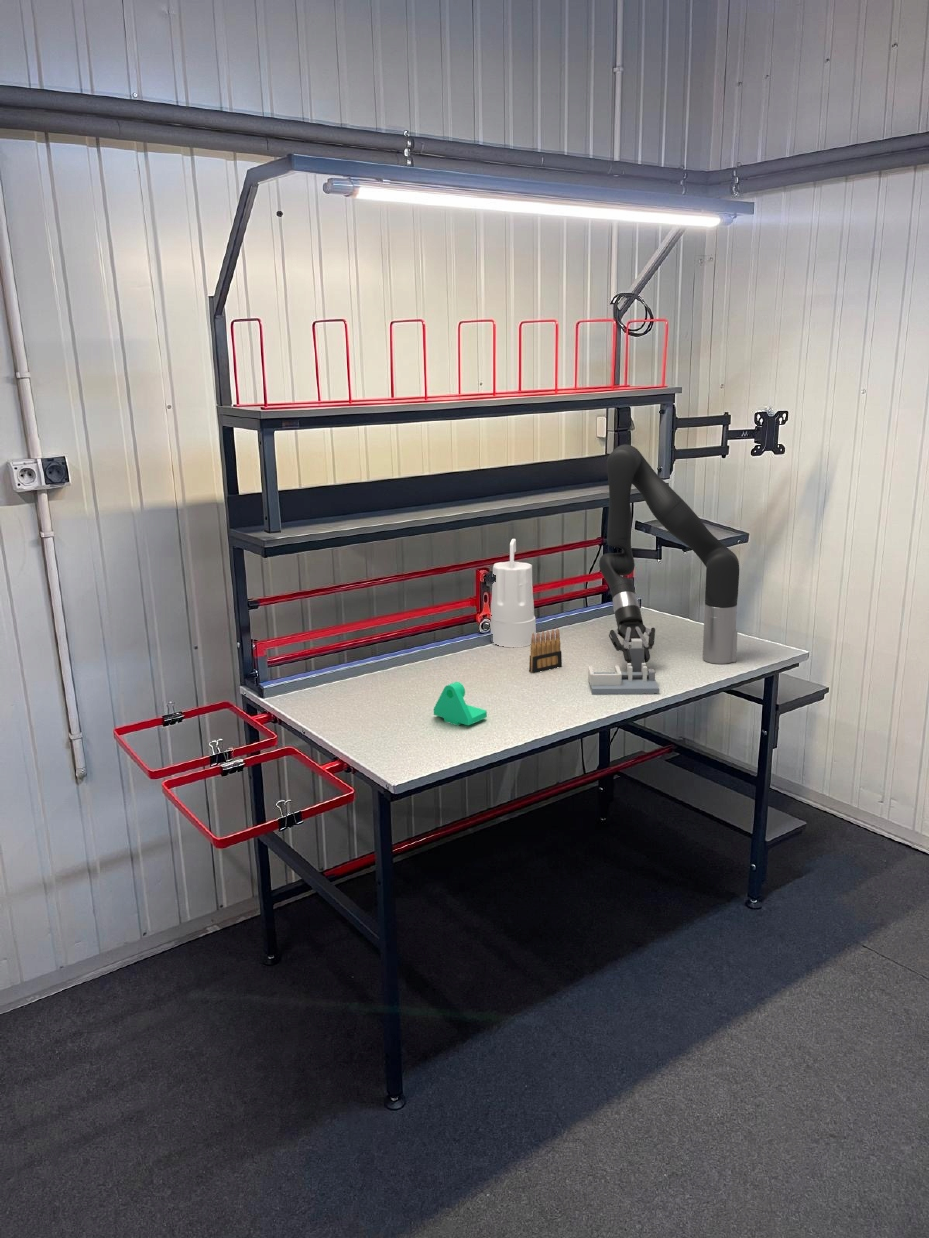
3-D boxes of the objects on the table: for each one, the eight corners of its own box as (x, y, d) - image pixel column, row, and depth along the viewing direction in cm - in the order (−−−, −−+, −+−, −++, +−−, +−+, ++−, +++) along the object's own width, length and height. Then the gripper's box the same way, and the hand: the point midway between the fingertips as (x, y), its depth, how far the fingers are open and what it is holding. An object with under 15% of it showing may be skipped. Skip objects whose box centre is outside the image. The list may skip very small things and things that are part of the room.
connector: (642, 670, 263) (642, 637, 261) (643, 675, 260) (644, 641, 257) (628, 670, 264) (628, 638, 261) (629, 675, 260) (630, 642, 257)
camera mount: (488, 720, 229) (487, 682, 227) (468, 729, 224) (467, 690, 221) (454, 710, 237) (452, 673, 235) (433, 718, 232) (432, 680, 229)
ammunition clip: (532, 673, 264) (532, 634, 261) (529, 671, 265) (528, 632, 262) (562, 666, 269) (562, 628, 266) (558, 665, 271) (558, 626, 267)
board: (651, 677, 258) (652, 658, 256) (658, 694, 244) (659, 674, 243) (587, 677, 259) (587, 659, 257) (591, 694, 245) (591, 674, 244)
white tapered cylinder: (488, 634, 304) (487, 537, 296) (533, 633, 305) (532, 535, 296) (492, 648, 289) (490, 545, 281) (538, 646, 290) (538, 544, 281)
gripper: (605, 605, 263) (616, 657, 255) (653, 602, 265) (665, 654, 256) (601, 618, 270) (611, 669, 261) (647, 615, 271) (659, 666, 263)
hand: (638, 661), depth 259 cm, fingers closed on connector, 4 cm apart
